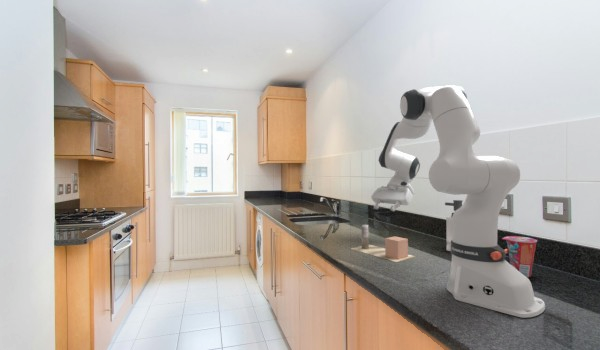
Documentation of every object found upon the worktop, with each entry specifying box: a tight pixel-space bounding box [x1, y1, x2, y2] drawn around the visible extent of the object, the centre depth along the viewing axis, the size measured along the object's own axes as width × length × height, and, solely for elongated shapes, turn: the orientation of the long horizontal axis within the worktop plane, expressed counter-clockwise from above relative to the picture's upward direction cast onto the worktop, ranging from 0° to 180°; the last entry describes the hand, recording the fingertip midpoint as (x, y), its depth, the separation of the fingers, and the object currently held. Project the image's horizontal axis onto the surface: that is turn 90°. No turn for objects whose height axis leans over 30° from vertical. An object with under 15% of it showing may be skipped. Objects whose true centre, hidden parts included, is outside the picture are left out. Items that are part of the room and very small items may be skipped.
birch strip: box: [350, 224, 416, 263], centre depth 120 cm, size 24×12×11 cm, turn 34°
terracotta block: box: [384, 236, 409, 260], centre depth 114 cm, size 6×6×7 cm
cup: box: [501, 235, 538, 278], centre depth 97 cm, size 9×8×12 cm
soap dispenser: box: [444, 199, 464, 252], centre depth 127 cm, size 6×9×22 cm
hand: (383, 209), depth 135 cm, fingers open, 8 cm apart
